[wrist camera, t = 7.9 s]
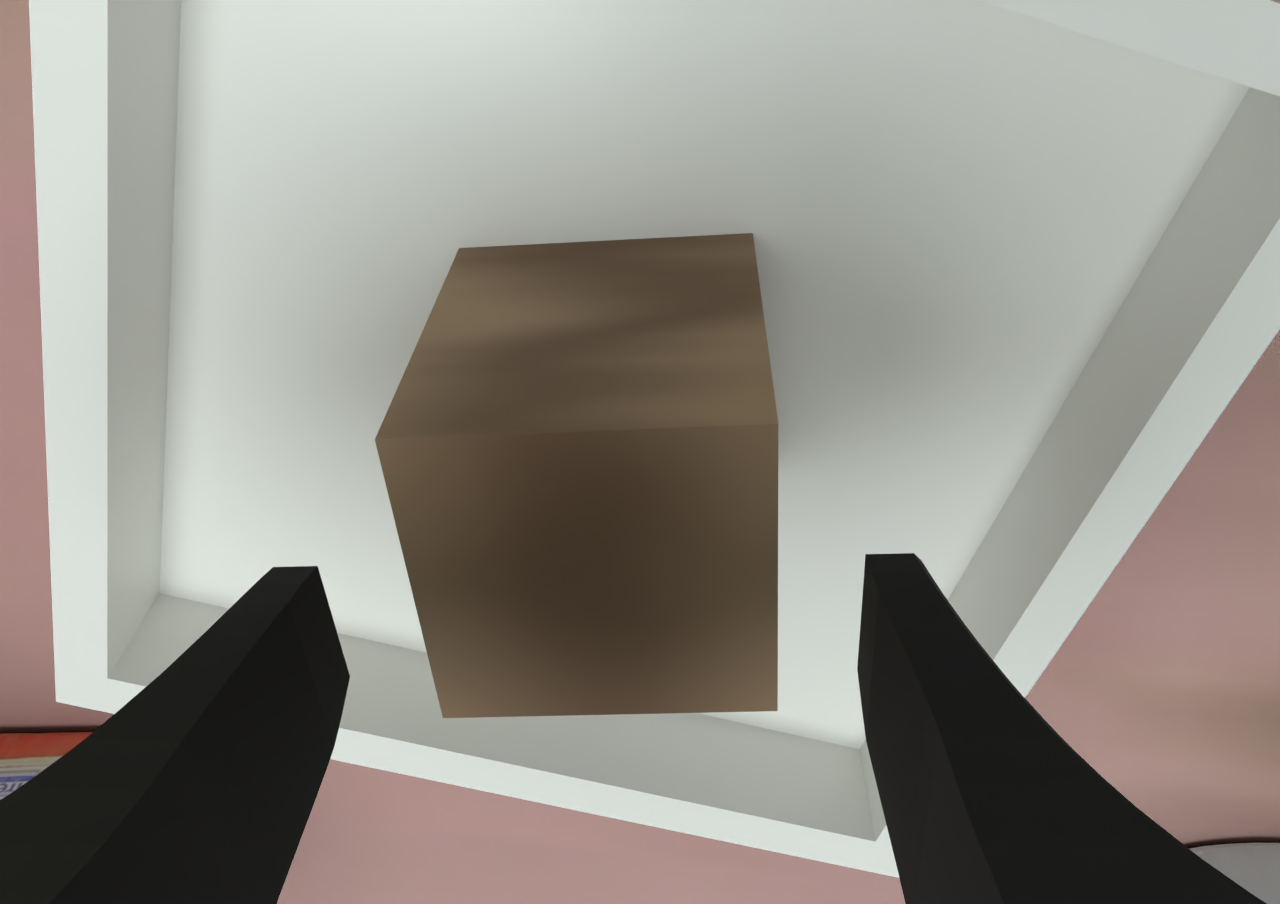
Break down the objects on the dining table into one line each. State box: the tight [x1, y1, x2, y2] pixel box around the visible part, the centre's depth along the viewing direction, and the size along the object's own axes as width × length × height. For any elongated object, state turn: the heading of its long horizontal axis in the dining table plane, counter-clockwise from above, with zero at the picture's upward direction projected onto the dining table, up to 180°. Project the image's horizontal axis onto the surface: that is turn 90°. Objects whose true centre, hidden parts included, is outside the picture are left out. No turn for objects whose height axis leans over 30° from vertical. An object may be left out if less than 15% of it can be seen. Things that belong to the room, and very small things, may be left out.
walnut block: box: [375, 233, 778, 718], centre depth 17 cm, size 5×5×6 cm
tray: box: [29, 0, 1280, 878], centre depth 19 cm, size 18×18×3 cm
